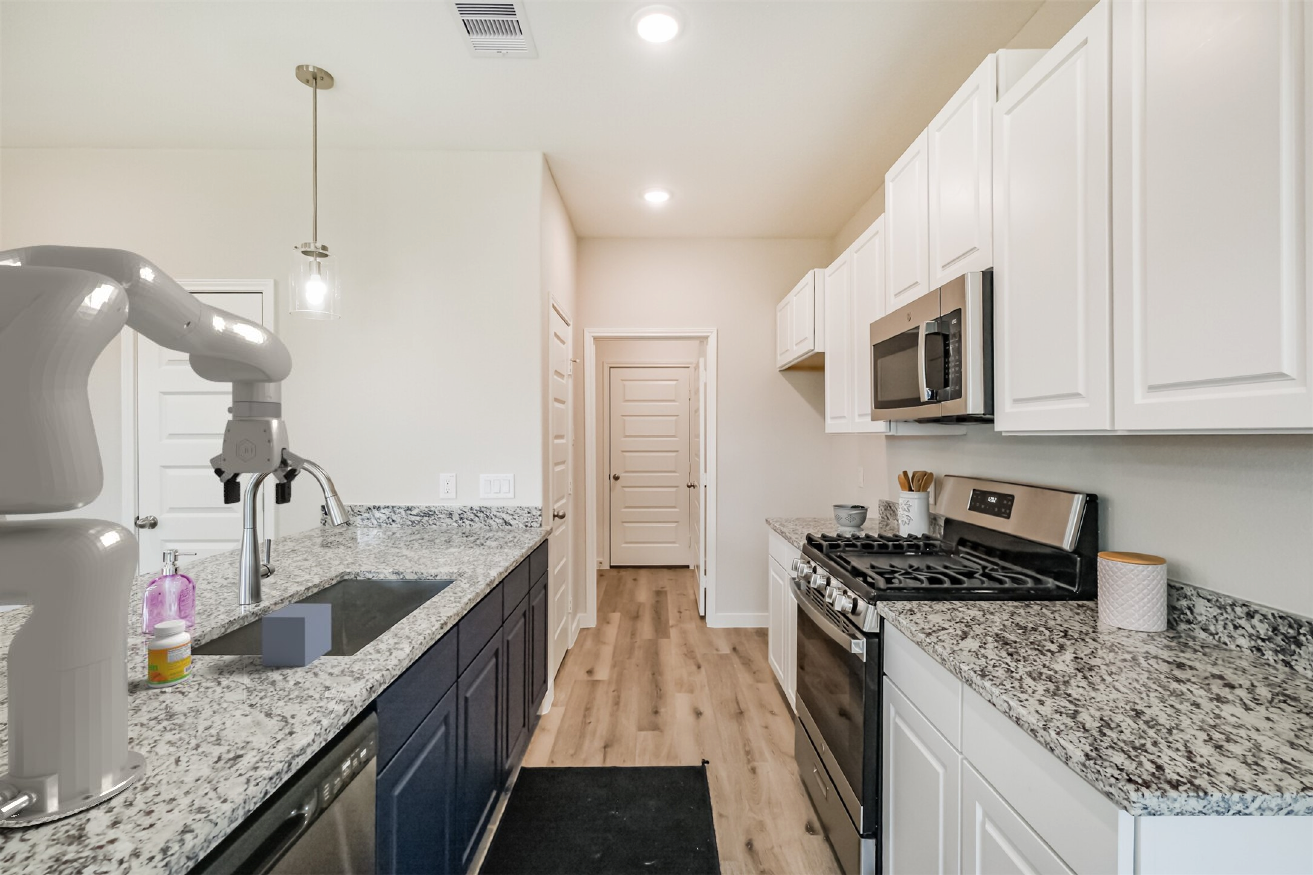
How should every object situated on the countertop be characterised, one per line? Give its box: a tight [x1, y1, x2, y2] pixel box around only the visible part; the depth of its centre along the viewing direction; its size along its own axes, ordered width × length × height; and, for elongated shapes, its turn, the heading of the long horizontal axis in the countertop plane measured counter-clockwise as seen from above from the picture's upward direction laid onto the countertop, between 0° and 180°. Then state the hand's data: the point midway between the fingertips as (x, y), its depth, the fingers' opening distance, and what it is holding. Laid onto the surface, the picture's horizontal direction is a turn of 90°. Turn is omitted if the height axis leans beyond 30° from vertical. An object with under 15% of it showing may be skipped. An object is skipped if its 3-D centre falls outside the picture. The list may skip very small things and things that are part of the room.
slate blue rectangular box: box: [261, 603, 332, 667], centre depth 101 cm, size 8×8×9 cm
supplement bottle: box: [147, 619, 192, 689], centre depth 92 cm, size 5×5×10 cm
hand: (257, 503), depth 103 cm, fingers open, 9 cm apart
